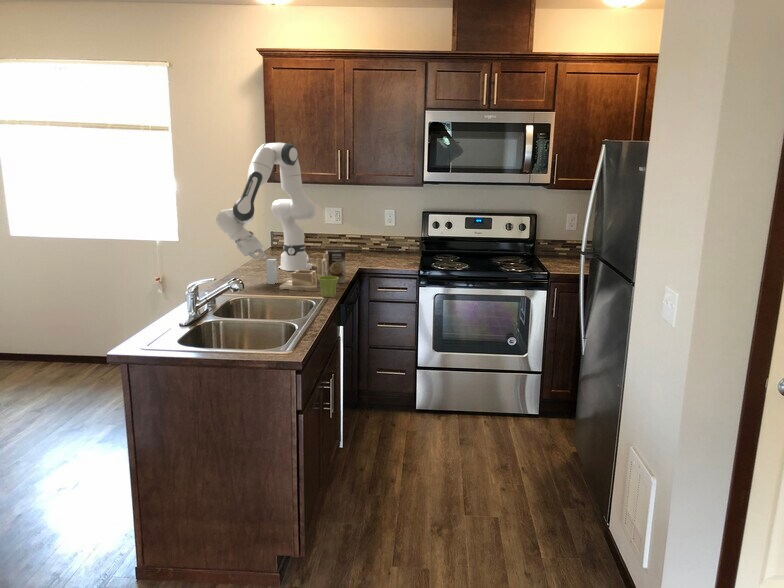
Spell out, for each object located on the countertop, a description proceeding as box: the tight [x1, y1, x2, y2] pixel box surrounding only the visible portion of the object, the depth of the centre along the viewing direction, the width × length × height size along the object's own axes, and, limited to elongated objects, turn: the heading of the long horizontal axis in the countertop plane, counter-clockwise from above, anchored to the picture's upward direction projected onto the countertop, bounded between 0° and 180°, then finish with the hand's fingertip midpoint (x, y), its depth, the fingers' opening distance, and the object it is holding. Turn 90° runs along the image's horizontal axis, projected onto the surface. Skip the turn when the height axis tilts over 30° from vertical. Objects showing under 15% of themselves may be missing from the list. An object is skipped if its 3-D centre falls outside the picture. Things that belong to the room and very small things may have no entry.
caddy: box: [279, 253, 328, 292], centre depth 299 cm, size 16×20×16 cm
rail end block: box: [265, 258, 278, 285], centre depth 306 cm, size 4×4×12 cm
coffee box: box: [325, 249, 346, 284], centre depth 312 cm, size 9×6×16 cm
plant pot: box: [318, 276, 339, 298], centre depth 281 cm, size 9×9×9 cm
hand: (261, 258), depth 306 cm, fingers open, 8 cm apart
